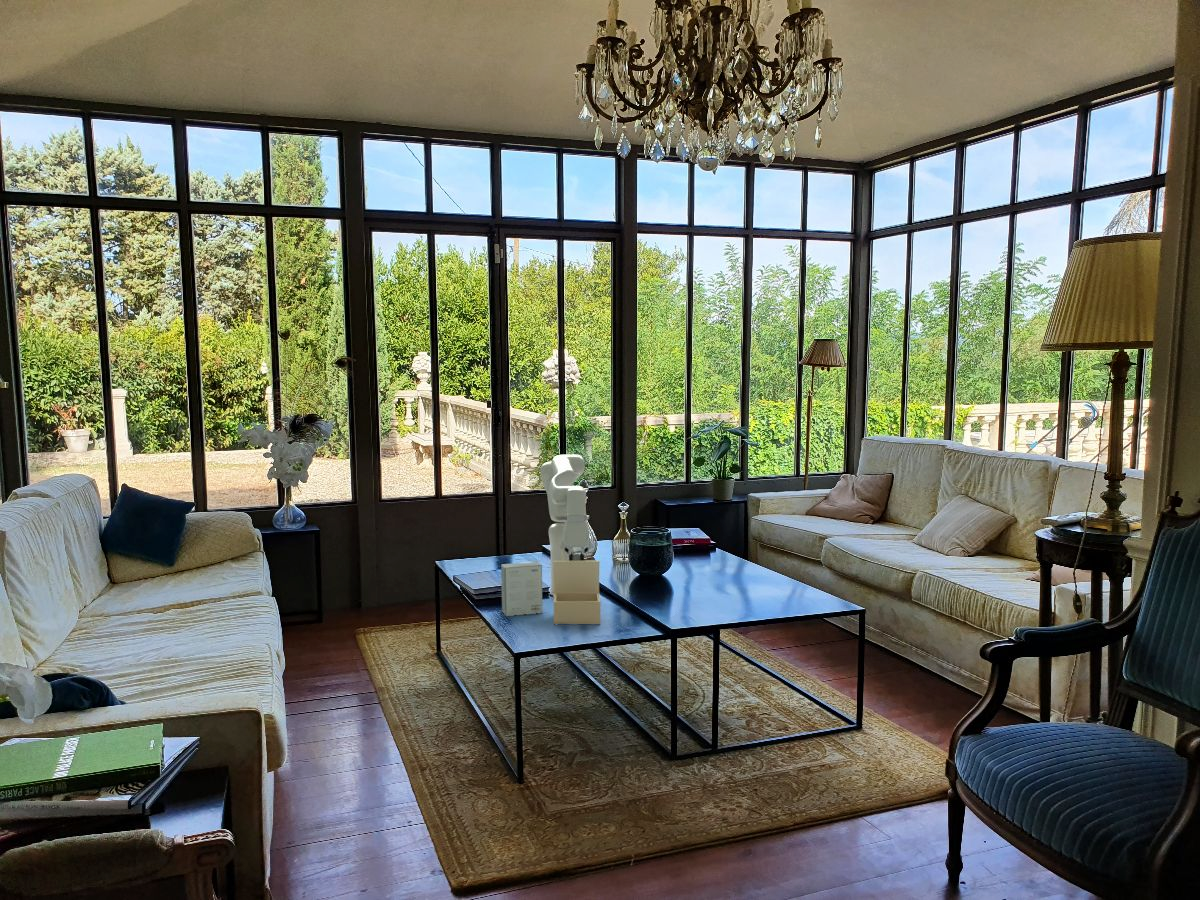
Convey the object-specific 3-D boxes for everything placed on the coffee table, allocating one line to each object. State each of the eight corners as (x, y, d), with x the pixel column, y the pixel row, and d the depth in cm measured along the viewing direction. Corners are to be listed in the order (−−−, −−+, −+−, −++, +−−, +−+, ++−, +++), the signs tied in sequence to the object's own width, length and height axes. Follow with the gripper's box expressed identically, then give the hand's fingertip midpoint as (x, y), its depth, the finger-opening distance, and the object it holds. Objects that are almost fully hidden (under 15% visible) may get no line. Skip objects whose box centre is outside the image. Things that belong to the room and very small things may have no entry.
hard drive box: (538, 608, 349) (538, 561, 347) (543, 613, 342) (542, 565, 340) (501, 611, 344) (500, 563, 342) (505, 616, 337) (504, 567, 335)
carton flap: (554, 593, 339) (554, 583, 346) (599, 592, 340) (598, 583, 347) (553, 561, 334) (554, 552, 341) (599, 561, 335) (598, 552, 342)
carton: (554, 615, 339) (554, 593, 339) (598, 614, 340) (599, 592, 340) (553, 625, 326) (553, 602, 325) (600, 624, 326) (600, 601, 326)
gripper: (596, 517, 345) (596, 562, 346) (555, 517, 344) (556, 562, 345) (597, 519, 337) (597, 565, 338) (555, 520, 337) (555, 566, 338)
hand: (576, 563), depth 342 cm, fingers closed on carton flap, 3 cm apart
